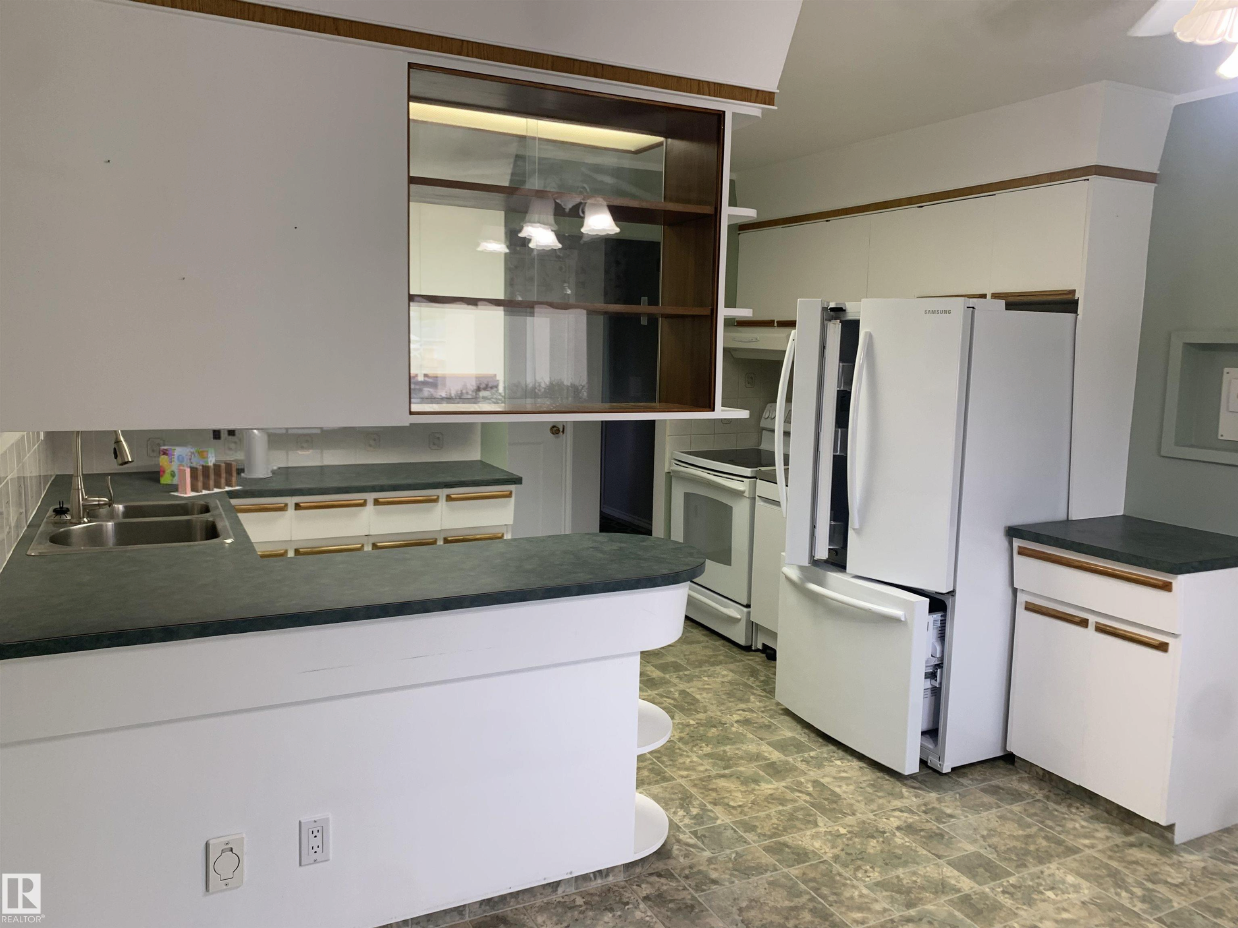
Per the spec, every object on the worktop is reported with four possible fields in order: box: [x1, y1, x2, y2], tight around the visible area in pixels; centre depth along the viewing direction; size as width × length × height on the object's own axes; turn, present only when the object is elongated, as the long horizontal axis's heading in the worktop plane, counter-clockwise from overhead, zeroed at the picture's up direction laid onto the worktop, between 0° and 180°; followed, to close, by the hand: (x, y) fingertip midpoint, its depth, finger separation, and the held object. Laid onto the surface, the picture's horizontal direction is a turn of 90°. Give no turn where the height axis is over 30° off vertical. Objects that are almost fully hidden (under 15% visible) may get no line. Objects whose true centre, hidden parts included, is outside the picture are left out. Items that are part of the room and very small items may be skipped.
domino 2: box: [190, 466, 203, 493], centre depth 342 cm, size 2×5×10 cm, turn 60°
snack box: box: [158, 445, 216, 485], centre depth 360 cm, size 21×6×15 cm, turn 84°
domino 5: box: [223, 461, 237, 488], centre depth 355 cm, size 2×5×10 cm, turn 60°
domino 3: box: [201, 464, 214, 491], centre depth 347 cm, size 2×5×10 cm, turn 60°
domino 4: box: [213, 462, 225, 489], centre depth 351 cm, size 2×5×10 cm, turn 60°
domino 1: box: [177, 467, 191, 495], centre depth 338 cm, size 2×5×10 cm, turn 60°
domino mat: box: [169, 485, 243, 498], centre depth 347 cm, size 25×10×1 cm, turn 150°
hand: (224, 437), depth 351 cm, fingers open, 9 cm apart
